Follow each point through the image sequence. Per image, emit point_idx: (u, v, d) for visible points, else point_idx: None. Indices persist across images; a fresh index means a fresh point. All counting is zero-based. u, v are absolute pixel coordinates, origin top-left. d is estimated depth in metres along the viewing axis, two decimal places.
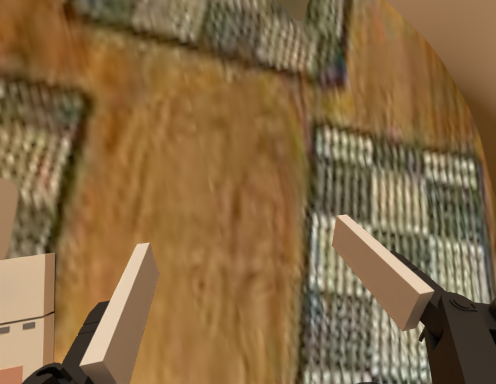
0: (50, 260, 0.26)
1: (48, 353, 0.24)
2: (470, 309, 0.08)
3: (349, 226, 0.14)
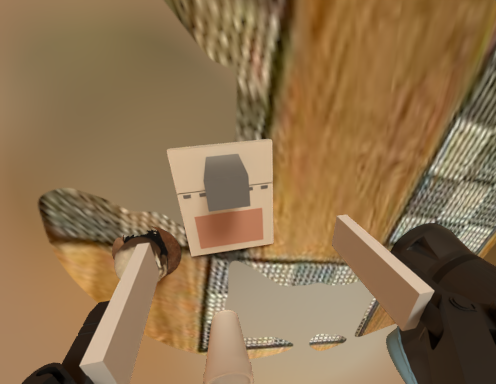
0: None
1: None
2: (470, 309, 0.08)
3: (349, 226, 0.14)
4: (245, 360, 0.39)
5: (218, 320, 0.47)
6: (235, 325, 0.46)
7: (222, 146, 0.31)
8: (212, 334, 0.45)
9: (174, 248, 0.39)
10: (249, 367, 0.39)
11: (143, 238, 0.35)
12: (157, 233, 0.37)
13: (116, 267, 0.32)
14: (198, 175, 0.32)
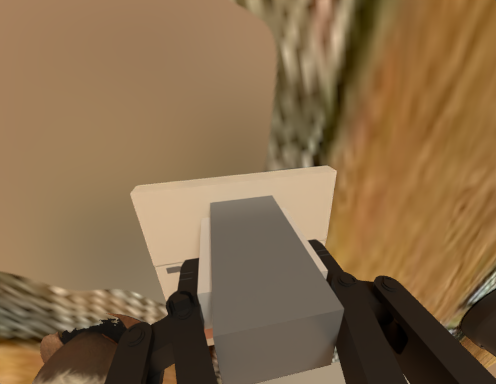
0: None
1: None
2: (352, 283, 0.10)
3: None
4: None
5: None
6: None
7: (243, 183, 0.16)
8: None
9: None
10: None
11: (90, 340, 0.20)
12: (118, 322, 0.22)
13: None
14: (195, 234, 0.17)
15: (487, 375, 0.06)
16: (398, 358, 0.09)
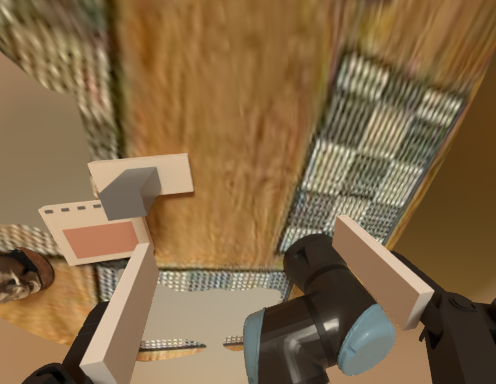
0: (188, 158, 0.37)
1: None
2: (470, 309, 0.08)
3: (349, 226, 0.14)
4: None
5: None
6: None
7: (140, 160, 0.35)
8: None
9: (43, 265, 0.41)
10: None
11: (1, 258, 0.38)
12: (21, 252, 0.40)
13: None
14: None
15: None
16: None
